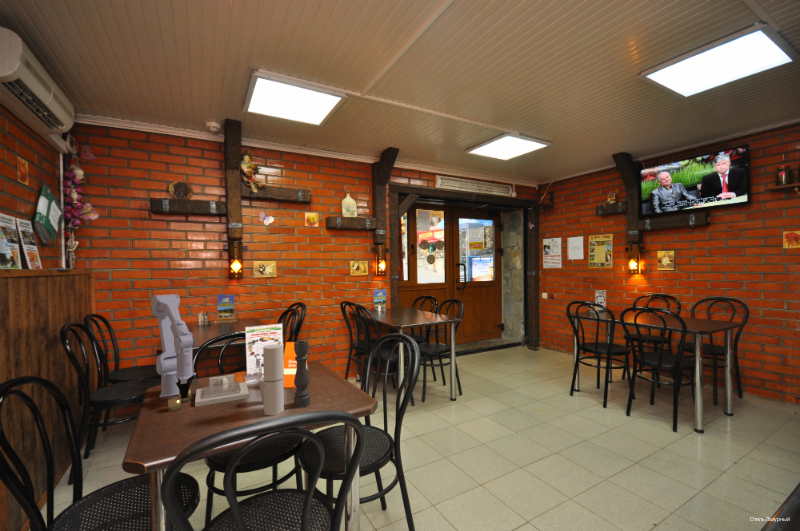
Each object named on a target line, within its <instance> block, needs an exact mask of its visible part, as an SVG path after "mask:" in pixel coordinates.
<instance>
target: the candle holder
mask: <svg viewBox="0 0 800 531" xmlns="http://www.w3.org/2000/svg"><path fill="white" fill-rule="evenodd" d="M293 342H294V351H295V354H296V355H297V356H296V357H295V360H296V361H297V369H296V374H295V378H294V385H295V387H294V388H295V389H296V390H295V392H294V396H293V406H294V407H295V406H296V407H295V408H297V407H302V406H307V405H309V404H310V405H311V396H310V391H309V389H308V386H309V385H310V376H309V372H308V366H307V367H306V360H307V361H308V360H309V356H308V355H307V354H308V352H309V345H310V344H309V341H307V340H297V341H293ZM306 355H307V356H306ZM310 405H309V406H310ZM307 407H308V406H307Z"/></svg>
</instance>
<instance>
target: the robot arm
mask: <svg viewBox="0 0 800 531" xmlns="http://www.w3.org/2000/svg"><path fill="white" fill-rule="evenodd" d="M180 303H181V299H180V295H179V294H178V293H173V294H154V295H153V296H152V297H151V301H150V306H151V312H152V315H154V316H155V317H156V319H157V322H158V329H159V335H160V342H161V349H162V352H161V354H159V356H157V358H156V360H155V361H156V365H155V366H156V367H155V370H156V372H157V374H158V375H160V376H161V378H160V379H161V392H160V394H159V398H165V397H172V396H179V391H180V395H181V398H182V399H184V398H188V393H189V389H191V388H190V387H191V385H192V383H193V378H194V376H197V373H196V372H194V371H193V368H194V367H193V365H194V364H193V348H194V347H195V344H196V338H195V336H194V334H193V333H192V332H190V330H189V328H188V326H187V324H186V322H185V321H184V320H182V318H181V315H180V314H181V313H180V310H179V307H180Z"/></svg>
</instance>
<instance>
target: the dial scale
mask: <svg viewBox="0 0 800 531" xmlns="http://www.w3.org/2000/svg"><path fill="white" fill-rule="evenodd" d="M208 379H209V382H208V383H209V384H208V386H215V385H222V384H229V383H235V374H228V375H227V374H226V375H221V376H213V377H209V378H208ZM239 384H240V388H241V392H238V393H232V394H225V395H219V396H213V397H206V398H204V387H203V388H202V387H201V388H197V389H196V392H195V400H194V407H196V408H197V407H202V406H208V405H209V406H210V405H216V404H219V403H220V404H221V403H226V402H233V401H237V400H238V401H239V400H243V399H245V400H246V399H249V398H250V392H249V388H248V384H247V381H242V382H239Z"/></svg>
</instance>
